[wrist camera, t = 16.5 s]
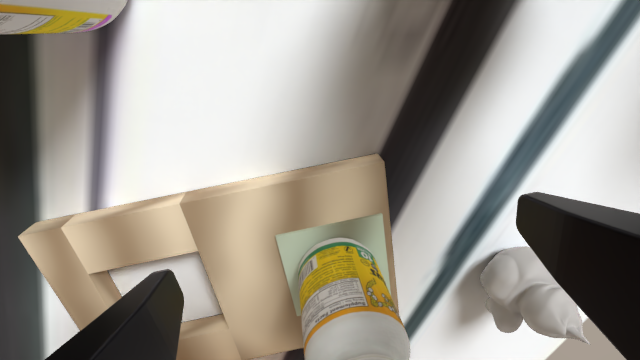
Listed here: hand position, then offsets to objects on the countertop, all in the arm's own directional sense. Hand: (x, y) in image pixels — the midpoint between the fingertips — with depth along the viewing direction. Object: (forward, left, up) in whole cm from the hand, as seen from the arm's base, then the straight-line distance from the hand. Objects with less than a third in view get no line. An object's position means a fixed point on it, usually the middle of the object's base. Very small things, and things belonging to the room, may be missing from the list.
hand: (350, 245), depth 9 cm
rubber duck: (-13, +15, -13) cm, 24 cm away
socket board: (+7, +10, -13) cm, 18 cm away
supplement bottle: (0, +10, -11) cm, 15 cm away
